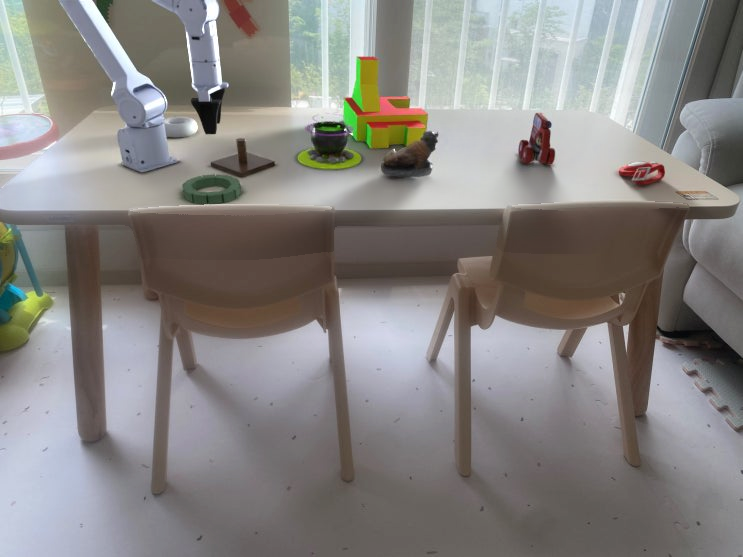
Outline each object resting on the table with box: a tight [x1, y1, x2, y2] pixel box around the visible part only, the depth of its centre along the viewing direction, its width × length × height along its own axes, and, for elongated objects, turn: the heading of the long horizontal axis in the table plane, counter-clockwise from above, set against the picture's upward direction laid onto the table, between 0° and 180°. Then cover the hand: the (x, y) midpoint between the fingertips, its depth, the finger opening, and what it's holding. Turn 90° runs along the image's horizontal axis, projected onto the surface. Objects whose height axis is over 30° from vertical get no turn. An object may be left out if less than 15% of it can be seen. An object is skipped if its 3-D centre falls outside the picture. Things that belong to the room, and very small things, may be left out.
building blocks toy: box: [342, 56, 429, 149], centre depth 140 cm, size 19×25×18 cm
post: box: [210, 137, 276, 178], centre depth 118 cm, size 10×10×6 cm
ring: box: [181, 173, 242, 205], centre depth 105 cm, size 11×11×2 cm
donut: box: [163, 116, 199, 139], centre depth 136 cm, size 10×4×10 cm
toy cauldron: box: [297, 109, 362, 170], centre depth 123 cm, size 15×15×11 cm
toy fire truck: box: [517, 112, 556, 166], centre depth 127 cm, size 7×12×10 cm, turn 178°
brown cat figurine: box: [380, 130, 439, 178], centre depth 115 cm, size 12×7×10 cm, turn 89°
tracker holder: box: [617, 161, 666, 185], centre depth 121 cm, size 12×4×10 cm
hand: (212, 128), depth 112 cm, fingers open, 7 cm apart
